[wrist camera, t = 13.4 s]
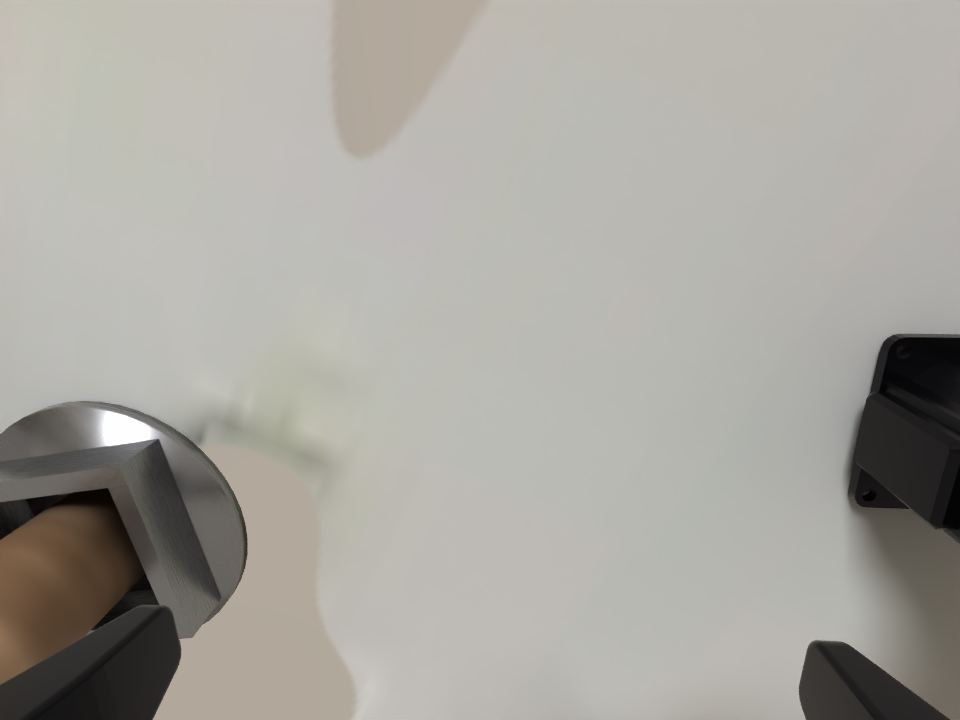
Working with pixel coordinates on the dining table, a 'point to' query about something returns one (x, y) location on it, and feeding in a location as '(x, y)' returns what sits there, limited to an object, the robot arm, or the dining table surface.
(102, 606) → the brown tapered domed piece
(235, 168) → the dining table surface
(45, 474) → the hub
